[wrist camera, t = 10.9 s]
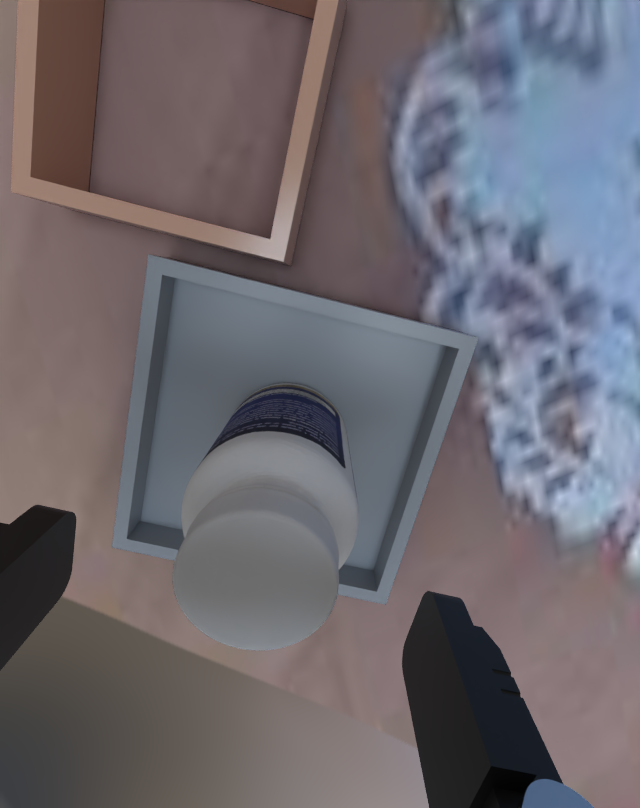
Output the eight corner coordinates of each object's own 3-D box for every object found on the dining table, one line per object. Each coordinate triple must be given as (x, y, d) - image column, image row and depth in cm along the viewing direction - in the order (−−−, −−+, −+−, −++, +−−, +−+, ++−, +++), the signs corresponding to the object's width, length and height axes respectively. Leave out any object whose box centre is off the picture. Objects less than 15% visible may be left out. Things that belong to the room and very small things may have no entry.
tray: (168, 257, 18) (148, 254, 16) (461, 331, 18) (478, 337, 16) (131, 522, 21) (111, 547, 19) (379, 575, 22) (385, 604, 20)
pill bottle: (208, 408, 19) (95, 531, 9) (319, 362, 18) (314, 445, 9) (260, 507, 20) (205, 701, 11) (364, 467, 20) (402, 636, 10)
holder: (92, -68, 15) (24, -172, 11) (346, 8, 15) (353, -70, 12) (72, 209, 17) (10, 192, 14) (290, 266, 18) (283, 261, 14)
